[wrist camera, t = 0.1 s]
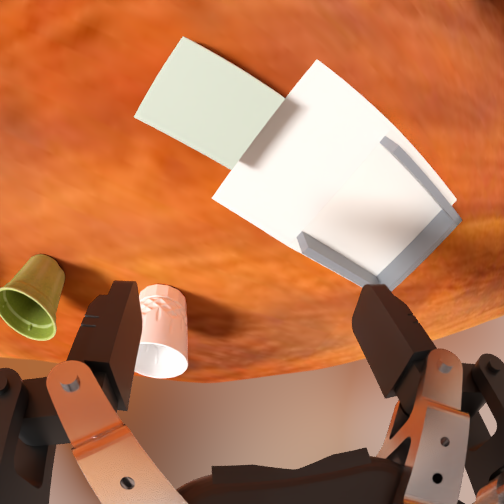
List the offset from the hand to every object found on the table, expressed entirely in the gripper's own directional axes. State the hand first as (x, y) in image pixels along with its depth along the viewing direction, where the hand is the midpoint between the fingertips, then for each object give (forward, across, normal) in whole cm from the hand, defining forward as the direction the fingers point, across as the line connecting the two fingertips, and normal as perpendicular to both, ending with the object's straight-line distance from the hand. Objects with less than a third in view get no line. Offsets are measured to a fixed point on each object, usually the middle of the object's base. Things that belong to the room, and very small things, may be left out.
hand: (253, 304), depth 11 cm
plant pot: (+25, +25, +16) cm, 38 cm away
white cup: (+26, +8, +20) cm, 34 cm away
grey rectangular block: (+22, +2, -6) cm, 23 cm away
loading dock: (+24, -14, +3) cm, 28 cm away
